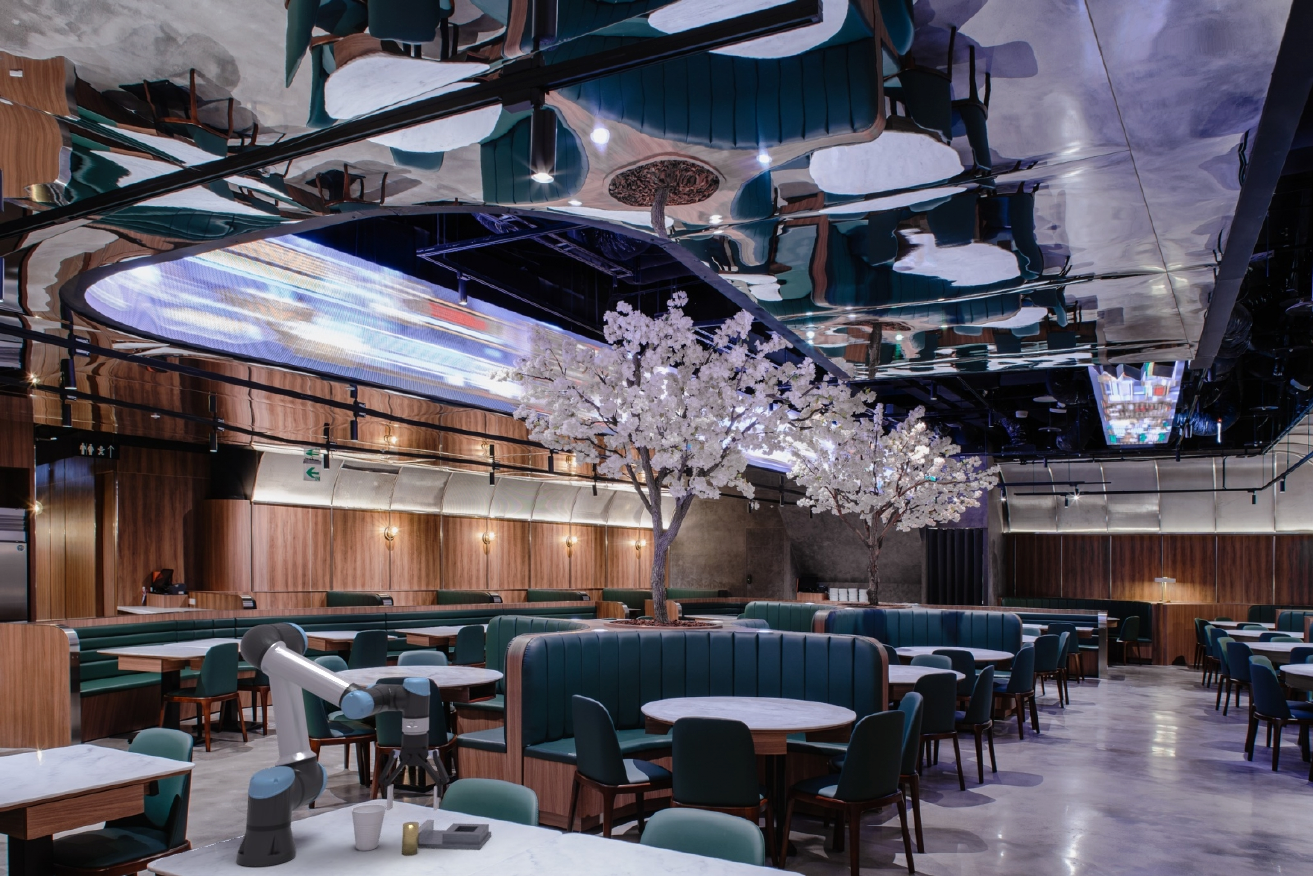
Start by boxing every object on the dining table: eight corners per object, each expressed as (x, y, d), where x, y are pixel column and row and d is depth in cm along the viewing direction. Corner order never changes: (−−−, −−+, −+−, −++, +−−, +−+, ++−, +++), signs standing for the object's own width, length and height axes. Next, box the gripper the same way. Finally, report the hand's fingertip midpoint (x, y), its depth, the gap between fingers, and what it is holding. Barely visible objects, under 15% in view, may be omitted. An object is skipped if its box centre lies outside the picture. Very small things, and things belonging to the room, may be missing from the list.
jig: (405, 847, 260) (405, 832, 260) (420, 834, 273) (421, 819, 274) (479, 849, 258) (480, 834, 259) (491, 835, 272) (491, 821, 273)
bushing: (399, 855, 252) (400, 825, 254) (404, 851, 257) (406, 821, 258) (414, 856, 252) (416, 826, 253) (419, 851, 257) (420, 822, 258)
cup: (373, 854, 253) (376, 813, 255) (342, 851, 255) (344, 811, 257) (390, 844, 263) (392, 805, 265) (360, 841, 265) (362, 803, 267)
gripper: (368, 734, 257) (365, 812, 253) (453, 734, 255) (451, 812, 252) (378, 730, 264) (375, 805, 261) (461, 730, 263) (459, 806, 259)
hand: (412, 809), depth 256 cm, fingers open, 13 cm apart
